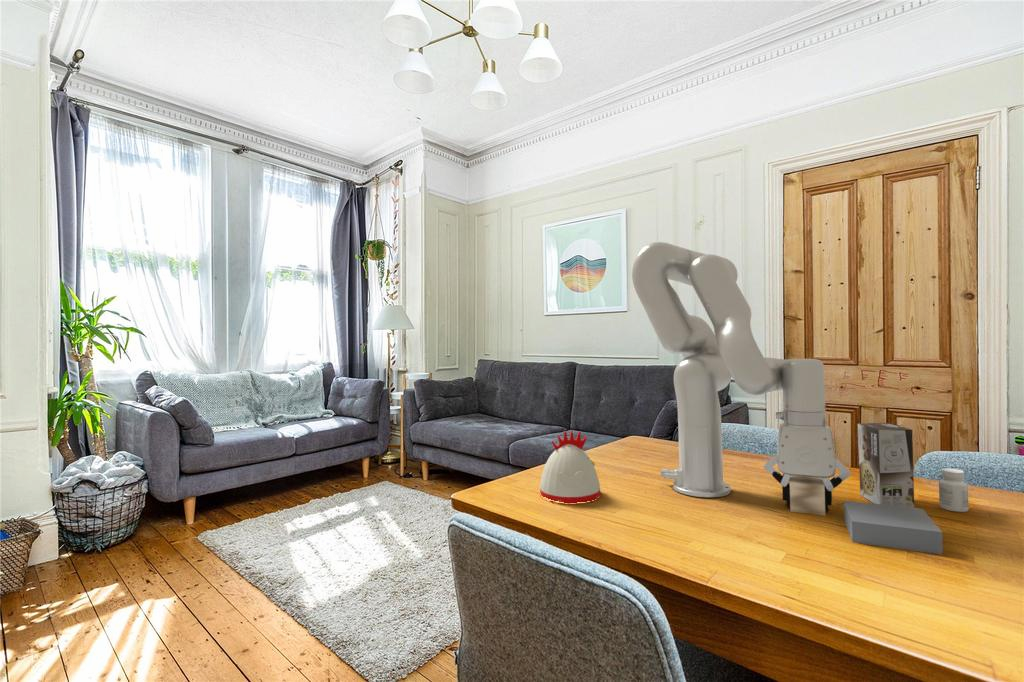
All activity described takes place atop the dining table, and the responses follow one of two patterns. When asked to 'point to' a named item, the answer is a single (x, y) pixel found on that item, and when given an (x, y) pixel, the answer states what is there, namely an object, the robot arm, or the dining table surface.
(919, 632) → the dining table surface
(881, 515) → the charcoal block
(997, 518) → the dining table surface
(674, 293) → the robot arm
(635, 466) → the dining table surface
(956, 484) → the pill bottle
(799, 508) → the oak cube
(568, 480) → the white red dome
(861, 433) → the coffee box
